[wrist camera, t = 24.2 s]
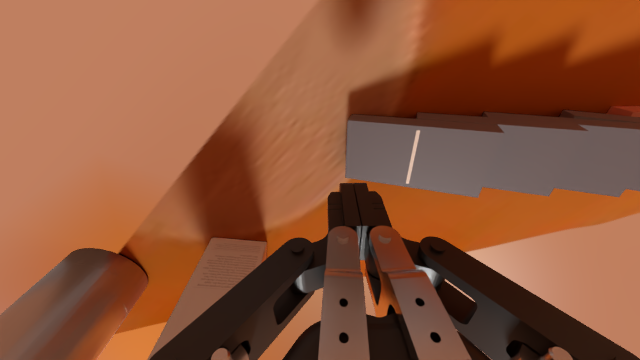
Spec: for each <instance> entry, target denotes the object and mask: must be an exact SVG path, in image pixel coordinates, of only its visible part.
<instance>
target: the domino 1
mask: <svg viewBox="0 0 640 360" xmlns="http://www.w3.org/2000/svg"><path fill="white" fill-rule="evenodd" d="M504 134H505V133H504V132H503V130H502V129H501V128H500V127H499V126H498V125H494V124H480V123H467V122H453V121H439V120H425V119H412V118H398V117H384V116H370V115H357V114H352V115H351V116H350V118H349V119H348V124H347V149H346V174H345V178H352V179H358V180H365V181H372V182H378V183H385V184H391V185H398V186H405V187H411V188H418V189H425V190H431V191H438V192H444V193H451V194H458V195H464V196H471V197H477V198H478V196H479V194H480V191H481V189H482V186H483V184H484V182H485V179H486V177H487V174H488V172H489V170H490V167H491V165H492V163H493V160H494V158H495V155H496V153H497V151H498V148H499V146H500V143H501V141H502V139H503V136H504Z"/></svg>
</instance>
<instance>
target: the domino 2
mask: <svg viewBox="0 0 640 360" xmlns="http://www.w3.org/2000/svg"><path fill="white" fill-rule="evenodd" d="M416 119H425V120H439V121H453V122H467V123H480V124H494V125H498V126H499V127H500V128H501V129H502V130H503V132H504V133H505V134H504V136H503V139H502V141H501V143H500V146H499V148H498V151H497V153H496V155H495V158H494V160H493V163H492V165H491V167H490V170H489V172H488V174H487V177H486V179H485V182H484V184H483V186H482V187H486V188H494V189H501V190H508V191H515V192H522V193H529V194H536V195H543V196H549V195H550V194H551V192H552V190H553V189H554V187H555V186H556V184H557V182H558V181H559V179H560V177H561V176H562V174H563V173H564V171H565V169H566V168H567V166H568V165H569V163H570V161H571V160H572V158H573V156H574V155H575V153H576V152H577V150H578V148H579V147H580V145H581V144H582V142H583V140H584V139H585V137H586V135H587V134H588V132H589V131H588V130H586V129H585V128H583V127H581V126H580V125H578V124H576V123H569V122H554V121H539V120H524V119H509V118H494V117H479V116H464V115H449V114H434V113H419V112H417V116H416Z"/></svg>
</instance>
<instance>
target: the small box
mask: <svg viewBox="0 0 640 360" xmlns="http://www.w3.org/2000/svg"><path fill="white" fill-rule="evenodd" d="M266 259H267V243H266V242H262V241H250V240H238V239H228V238H211V240H210V242H209V244H208V246H207V248H206V250H205V252H204V254H203V255H202V257H201V259H200V261H199V263H198V265H197V267H196V269H195V271H194V273H193V274H192V276H191V278H190V280H189V282H188V284H187V286H186V288H185V289H184V291H183V293H182V295H181V297H180V299H179V301H178V303H177V305H176V307H175V308H174V310H173V312H172V314H171V316H170V318H169V320H168V322H167V324H166V325H165V328H164V329H163V331H162V333H161V335H160V337H159V339H158V341H157V343H156V345H155V346H154V348H153V350H152V352H151V354H150V356H149V358H148V360H149V359H150V358H151V357H152V356H153V355H154V354H155V353H156V352H157V351H159V350H160V349H161V348H162V347H163V346H164V345H166V344H167V343H168V342H169V341H170V340H172V339H173V338H174V337H175V336H176V335H177V334H179V333H180V332H181V331H182V330H183V329H185V328H186V327H187V326H188V325H189V324H190V323H192V322H193V321H194V320H195V319H196V318H197V317H199V316H200V315H201V314H202V313H203V312H205V311H206V310H207V309H208V308H209V307H210V306H212V305H213V304H214V303H215V302H216V301H218V300H219V299H220V298H221V297H222V296H223V295H225V294H226V293H227V292H228V291H229V290H231V289H232V288H233V287H234V286H235V285H236V284H238V283H239V282H240V281H241V280H242V279H244V278H245V277H246V276H247V275H248V274H249V273H251V272H252V271H253V270H254V269H255V268H257V267H258V266H259V265H260V264H261V263H262V262H264V261H265V260H266Z"/></svg>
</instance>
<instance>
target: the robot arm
mask: <svg viewBox="0 0 640 360" xmlns="http://www.w3.org/2000/svg"><path fill="white" fill-rule="evenodd" d="M360 260H365V263H366V269H365V275H366V278H367V283H368V286H369V290H370V294H371V297H372V301H373V305H374V309H375V315H376V317H374V316H371V315H367V314H366V308H365V296H364V284H363V274H362V272H361V269H360ZM445 279H446V280H448V281H449V282H450V283H452V284H453V285H455V286H456V287H458V288H459V289H460V290H462V291H463V292H464V293H466V294H467V295H469V296H470V297H471V298H472V299H473V300H474V301H475V302H474V301H472V300H471V299H469V298H468V297H466V296H465V295H464V294H462V293H461V292H460V291H458V290H457V289H456V288H454V287H453V286H451V285H450V284H448V283H447V282H445V281H444V280H445ZM147 284H148V279H147V276H146V274H145V273H144V271H143V270H142V269H141V268H140V267H139V266H138V265H137V264H135V263H134V262H132V261H131V260H129V259H127V258H125V257H123V256H121V255H119V254H116V253H113V252H111V251H106V250H102V249H94V248H84V249H79V250H76V251H73V252H71V253H70V254H69V255H68V256H67V257H66V258H65V259H64V260H62V261H61V262H60V263H59V264H58V265H57V266H56V267H54V269H52V270H51V271H50V272H49V273H48V274H46V275H45V276H44V277H43V278H42V279H41V280H40V281H39V282H37V283H36V284H35V285H34V286H32V287H31V288H30V289H29V290H28V291H27V292H26V293H25V294H23V295H22V296H21V297H20V298H19V299H18V300H17V301H15V302H14V303H13V304H12V305H11V306H10V307H9V308H8V309H6V310H5V311H4V312H3V313H2V314H1V315H0V360H97V358H98V357H99V355H100V354H101V352H102V351H103V349H104V348H105V347H106V345H107V344H108V342H109V341H110V339H111V338H112V336H113V335H114V333H115V332H116V331H117V329H118V328H119V326H120V325H121V323H122V322H123V320H124V319H125V318H126V316H127V315H128V313H129V312H130V310H131V309H132V307H133V306H134V304H135V303H136V302H137V300H138V299H139V297H140V296H141V294H142V293H143V291H144V290H145V288H146V287H147ZM320 288H323V300H322V314H321V321H319V322H317V323H315V324H313V325H312V326H310V327H309V328H308V329H306V330H305V331H304V332H303V333H302V334H301V336H299V338H298V339H297V340H296V342H295V343H294V344H293V346H292V347H291V349H290V350H289V351H288V353H287V354H286V356H285V357H284V358H283V360H491V359H492V360H640V359H639V358H638V357H637V356H635V355H634V354H632V353H630V352H629V351H627V350H625V349H624V348H622V347H621V346H619V345H617V344H615V343H614V342H612V341H611V340H609V339H607V338H606V337H604V336H602V335H601V334H599V333H597V332H596V331H594V330H592V329H591V328H589V327H587V326H586V325H584V324H582V323H581V322H579V321H577V320H576V319H574V318H572V317H571V316H569V315H568V314H566V313H564V312H563V311H561V310H559V309H558V308H556V307H554V306H553V305H551V304H549V303H548V302H546V301H544V300H543V299H541V298H539V297H538V296H536V295H534V294H533V293H531V292H529V291H528V290H526V289H524V288H523V287H521V286H520V285H518V284H516V283H514V282H513V281H511V280H509V279H508V278H506V277H505V276H503V275H501V274H500V273H498V272H496V271H495V270H493V269H491V268H490V267H488V266H486V265H485V264H483V263H481V262H480V261H478V260H476V259H475V258H473V257H471V256H470V255H468V254H466V253H465V252H463V251H462V250H460V249H458V248H457V247H455V246H453V245H452V244H450V243H448V242H447V241H445V240H443V239H441V238H438V237H425V238H423V239H422V240H421V242H420V243H419V242H414V241H410V240H407V239H404V238H402V237H401V236H400V234H399V233H398V232H397V231H396V230H395V229H393V228H392V226H391V223H390V220H389V217H388V215H387V212H386V209H385V206H384V204H383V201H382V198H381V196H380V195H379V194H378V193H377V192H376V191H368V187H367V184H366V183H340V191H339V192H331V193H330V195H329V196H328V234H327V235H326V237H325V238H323V239H322V240H320V241H317V242H313V243H311V242H310V241H309V240H307V239H305V238H293V239H291V240H289V241H287V242H286V243H285V244H284V245H282V246H281V247H280V248H279V249H278V250H277V251H275V252H274V253H273V254H272V255H271V256H269V257H268V258H267V259H266V260H265V261H264V262H262V263H261V264H260V265H259V266H258V267H257V268H255V269H254V270H253V271H252V272H251V273H249V274H248V275H247V276H246V277H245V278H244V279H242V280H241V281H240V282H239V283H238V284H236V285H235V286H234V287H233V288H232V289H231V290H229V291H228V292H227V293H226V294H225V295H223V296H222V297H221V298H220V299H219V300H218V301H216V302H215V303H214V304H213V305H212V306H210V307H209V308H208V309H207V310H206V311H205V312H203V313H202V314H201V315H200V316H199V317H197V318H196V319H195V320H194V321H193V322H192V323H190V324H189V325H188V326H187V327H186V328H185V329H183V330H182V331H181V332H180V333H179V334H177V335H176V336H175V337H174V338H173V339H172V340H170V341H169V342H168V343H167V344H166V345H164V346H163V347H162V348H161V349H160V350H159V351H157V352H156V353H155V354H154V355H153V356H152V357H151V358H150V359H149V360H258V358H259V357H260V356H261V355H262V354H263V352H264V351H265V350H266V349H267V348H268V347H269V345H270V344H271V343H272V342H273V341H274V340H275V338H276V337H277V336H278V335H279V334H280V333H281V331H282V330H283V329H284V328H285V327H286V326H287V324H288V323H289V322H290V321H291V319H292V318H293V317H294V316H295V315H296V314H297V313H298V311H299V310H300V309H301V308H302V307H303V305H304V304H305V303H306V302H307V301H308V300H309V298H310V297H311V296H312V295H313V294H314V291H315V290H317V289H320ZM457 330H458V331H459V332H458V331H457ZM476 346H477V347H478V348H477V347H476ZM482 351H483V352H484V353H485V354H486V355H485V354H484V353H483V352H482ZM489 357H490V358H491V359H490V358H489Z"/></svg>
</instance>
